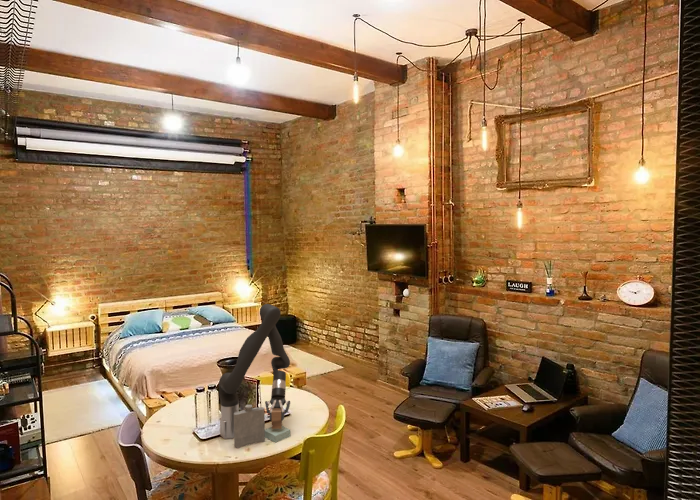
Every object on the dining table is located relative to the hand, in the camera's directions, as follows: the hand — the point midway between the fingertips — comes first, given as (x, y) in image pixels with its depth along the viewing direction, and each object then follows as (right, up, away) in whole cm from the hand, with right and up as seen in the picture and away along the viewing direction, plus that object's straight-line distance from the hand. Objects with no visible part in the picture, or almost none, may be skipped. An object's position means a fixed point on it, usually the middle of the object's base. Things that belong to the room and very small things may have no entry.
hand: (276, 420), depth 245 cm
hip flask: (-13, -10, -5) cm, 18 cm away
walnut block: (0, -4, +2) cm, 5 cm away
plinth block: (0, -10, +2) cm, 10 cm away
